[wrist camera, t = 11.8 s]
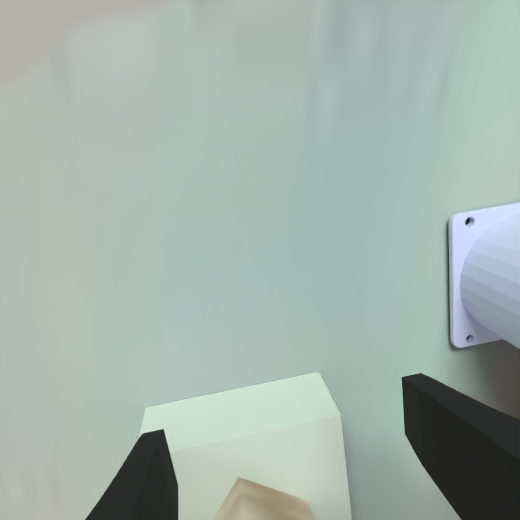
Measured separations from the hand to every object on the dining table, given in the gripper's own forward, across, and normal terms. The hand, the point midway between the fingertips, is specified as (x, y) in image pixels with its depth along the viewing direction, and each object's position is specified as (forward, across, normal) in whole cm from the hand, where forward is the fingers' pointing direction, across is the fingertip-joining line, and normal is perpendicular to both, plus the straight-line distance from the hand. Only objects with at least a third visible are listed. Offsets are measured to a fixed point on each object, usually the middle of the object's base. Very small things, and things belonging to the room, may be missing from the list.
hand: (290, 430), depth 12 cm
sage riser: (+10, +2, +10) cm, 15 cm away
